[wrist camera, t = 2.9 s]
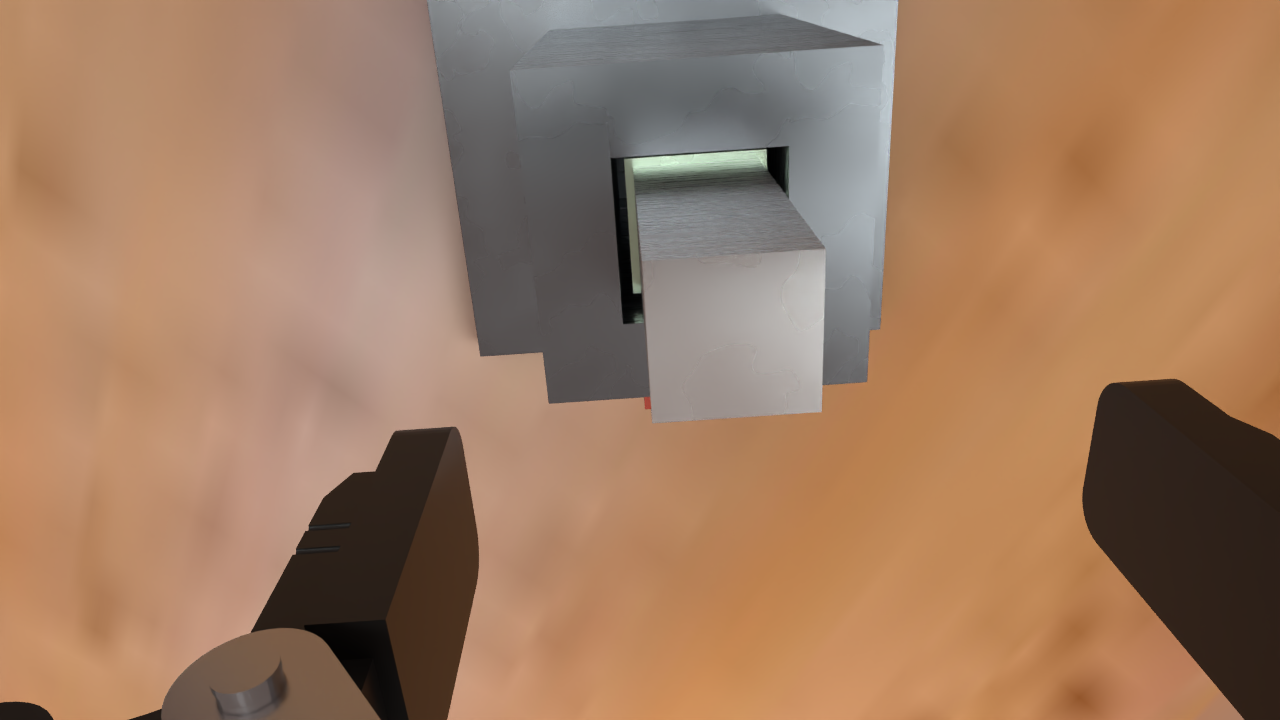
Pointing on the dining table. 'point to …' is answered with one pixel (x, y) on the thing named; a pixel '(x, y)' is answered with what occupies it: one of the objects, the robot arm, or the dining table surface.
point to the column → (724, 287)
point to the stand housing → (654, 125)
